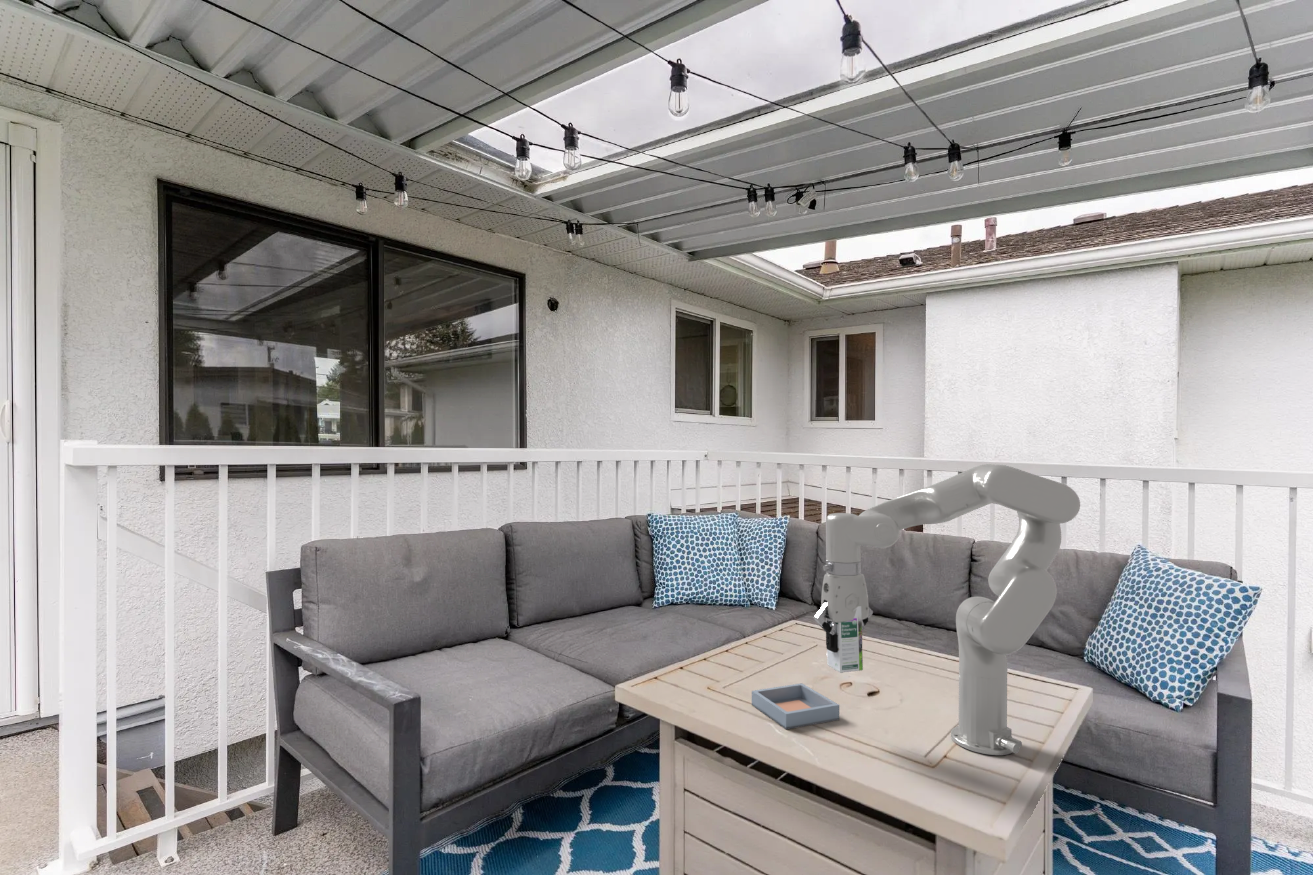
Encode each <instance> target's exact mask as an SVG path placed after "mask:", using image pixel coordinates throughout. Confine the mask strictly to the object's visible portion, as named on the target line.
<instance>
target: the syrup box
mask: <svg viewBox="0 0 1313 875" xmlns="http://www.w3.org/2000/svg"><path fill="white" fill-rule="evenodd" d="M854 608H855V607H854ZM856 609H857V610H856ZM856 609H855V610H856V613H855V616H854V619H853V620H851V621H846V622H841V623H837V629H836V632H835V634H837V636H838V652H836V653H834V652H832V651H830V650H828V649H827V648H826V653H827V656H826V657H827V659H826V660H827V661H826V663H827V666H828V667H829V668H831V669H833V670H834V671H836V672H838V673H840V674H844V673H849V672H860V671H861V672H862V671H863V670H864V667H863V666H864V662H863V661H864V660H863V631H862V614H861V606H858V607H857V608H856ZM831 625H832V622H831ZM831 625H830V626H831Z"/></svg>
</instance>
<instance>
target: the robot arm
mask: <svg viewBox="0 0 1313 875" xmlns="http://www.w3.org/2000/svg"><path fill="white" fill-rule="evenodd" d="M991 504H995V505H998V506H999V505H1000V506H1002V507H1005V508H1008V509H1011V510H1012V511H1015V512H1016V513H1017V517H1018V530H1017V531H1016V532H1017V533H1016V534H1015V536H1014V538H1013V540H1012V541H1011V543H1010V544H1009V546H1008V547H1007V548H1006V550H1005V551H1004V552H1003V554H1002V555H1001V557H1000V558H999V560H997V562H996V564H994V565H993V566H994V567H992V569H991V571H990V572H989V575H988V578H987V580H988V581H987V582H988V583H987V584H988V586H989V588H990V590H991V592H993V594H994V595H996V596H997V598H996V600H995V601H994V600H993V599H990V598H988V597H984V596H971V597H968V598H965V599H964V600H963V601H962V602H961V603H960V604H959V606H958V607H957V610H956V614H955V626H956V627H955V628H956V634H957V642H958V643H957V644H958V726H957V725H956V726H955V727H953V728H952V729H950V738H951V739H952V741H953V742H955V744H957V745H958V746H960V747H962V748H964V749H966V750H969V751H971V752H975V753H978V754H981V755H982V754H983V755H989V756H1004V755H1005V756H1006V755H1010V754H1012V753H1013V754H1018V753H1019V751H1020V748H1021V747H1022V744H1023V742H1022V741H1021V740H1019V739H1017V738H1015V737H1013V736H1012V735H1013V734H1012V732H1013V731H1012V728H1010V727H1009V726H1008V658H1007V657H1008V655H1012V654H1014V653H1016V652H1018V651H1020V649H1022V648H1023V647H1024V646H1025V645H1026V644H1027V642H1028V641H1029V639H1030V638H1031V637H1032V636H1033V634H1034V633H1035V632H1036V630H1037V629H1038V628H1039V627H1040V625H1041V624H1042V623H1043V621H1044V619H1045V618H1046V616H1047V615H1048V614H1049V612H1050V611H1051V609H1052V608H1053V606H1054V604H1055V602H1056V600H1057V596H1058V595H1057V592H1058V588H1057V584H1056V580H1055V579H1054V577H1053V576H1052V574H1051V573H1049V571H1048V570H1049V568H1050V566H1051V565H1052V564H1053V563H1052V562H1054V560H1055V558H1056V557H1057V554H1058V553H1059V551H1060V548H1061V544H1062V528H1061V524H1066V523H1069V522H1070V521H1072V520H1074V518H1076V516H1077V515H1078V514H1079V512H1080V510H1081V501H1080V498H1079V495H1078V494H1077V492H1076V491H1075V490H1074V489H1073V488H1071V487H1070V486H1069V485H1066V484H1064V483H1062V482H1058V481H1056V480H1052V479H1050V478H1046V477H1043V476H1040V475H1038V474H1037V475H1036V474H1033V473H1031V472H1028V471H1025V470H1022V469H1018V468H1016V467H1012V466H1009V465H1007V464H1006V465H1005V464H992V463H991V464H990V463H989V464H987V463H986V464H981V465H977V466H975V467H973V468H970V469H967V470H965V471H963V472H960V473H958V474H956V475H954V476H952V477H951V476H950V477H949V478H947V479H944V480H941V481H939V482H937V483H934V484H931V485H929V486H927V487H924V488H921V489H917V490H915V491H912V492H910V493H907V494H903V495H901V496H898V497H895V498H892V499H888V500H887V501H886V500H885V502H882V503H880V504H877V505H874V506H872V507H870V508H868V509H866V510H864V511H862V512H861V513H860V514H858V515H857V514H856V513H855V514H854V513H851V512H850V513H848V512H836V513H835V512H834V513H830V514H828V515H827V516H826V517H825V564H823V566H822V570H823V571H824V572H825V574H824V576H823V580H822V586H821V596H820V599H821V601H820V603H821V604H820V609H819V610H818V611H817V612H816V614H815V615H814V617H813V620H814V621H815V622H816V623H817V624H818V625H819V626H820V627H821V629H822V630H823V632H825V645H826V650H827V649H828V650H830V651H832V652H834V653H836V652H838V636H837V634H835V632H836V629H837V623H841V622H846V621H851V620H853V619H854V616H855V613H856V610H857V609H856V608H857V607H858V606H861V614H862V632H863V631H865V629H866V627H865V626H866V625H867V624H868V622H869V619H870V618H871V617H872V615H873V613H874V611H873V610H872V609H871V607H870V605H869V597H868V596H869V594H868V588H867V581H866V578H865V575H864V573H862V561H861V560H862V558H861V557H862V555H861V554H862V550H861V547H870V548H876V549H886V548H890V547H892V546H893V545H894V544H896V543H897V542H898V540H899V539H900V532H901V531H902V530H905V529H908V528H911V527H916V526H920V525H922V526H923V525H937V524H943V523H947V522H949V521H952V520H954V519H957V518H959V517H961V516H964V515H966V514H969V513H971V512H973V511H975V510H978V509H980V508H982V507H986V506H987V505H988V506H989V505H991ZM854 607H855V608H854ZM855 609H856V610H855ZM831 622H832V625H831ZM830 625H831V626H830Z"/></svg>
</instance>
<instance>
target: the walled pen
mask: <svg viewBox="0 0 1313 875" xmlns="http://www.w3.org/2000/svg"><path fill="white" fill-rule="evenodd" d="M751 706H753V707H754V708H755V709H757V710H758V711H759V712H760V713H761V714H763V715H765V716H766V717H768V718H769V719H770V720H771V721H773V722H774V723H776V724H777V725H779V726H780V727H782V729H784V730H791V729H796V728H801V727H807V726H813V725H818V724H824V723H829V722H834V721H840V704H839V703H837V702H836V701H834V700H831V699H830V698H828V697H826V696H825V695H823V694H821V693H819V691H816V690H814V689H812V688H811V687H809V686H807V685H806V684H804V683H803V682H802V683H794V684H787V685H781V686H774V687H768V688H762V689H761V688H760V689H755V690H751Z"/></svg>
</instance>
